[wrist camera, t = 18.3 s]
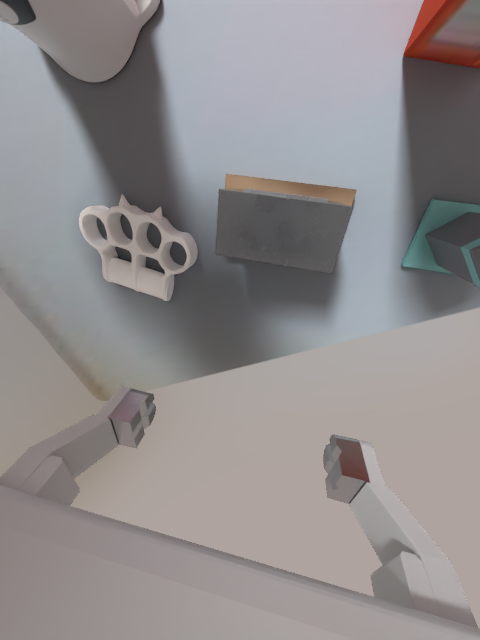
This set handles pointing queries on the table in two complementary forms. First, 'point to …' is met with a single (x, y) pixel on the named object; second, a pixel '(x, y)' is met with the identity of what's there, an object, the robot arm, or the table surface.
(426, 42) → the file binder
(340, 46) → the table surface
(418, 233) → the pad
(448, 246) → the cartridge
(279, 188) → the board
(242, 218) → the panel
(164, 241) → the white brass knuckles
